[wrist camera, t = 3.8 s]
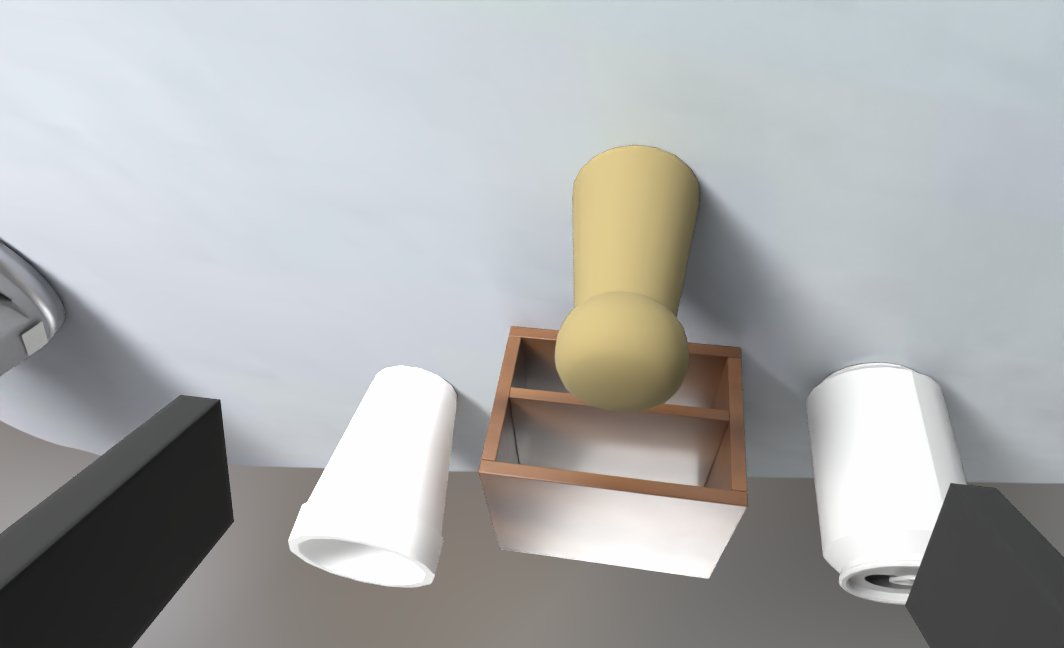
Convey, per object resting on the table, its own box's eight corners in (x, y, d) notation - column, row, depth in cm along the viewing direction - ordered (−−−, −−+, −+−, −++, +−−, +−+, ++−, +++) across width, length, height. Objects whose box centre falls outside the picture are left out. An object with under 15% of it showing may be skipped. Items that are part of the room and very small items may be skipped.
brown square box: (510, 325, 41) (477, 472, 34) (740, 347, 39) (748, 506, 33) (522, 420, 50) (498, 549, 44) (708, 442, 48) (709, 579, 42)
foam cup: (334, 352, 46) (260, 528, 39) (454, 353, 44) (401, 541, 36) (384, 419, 54) (330, 580, 46) (490, 423, 51) (452, 593, 43)
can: (782, 405, 43) (799, 592, 36) (845, 342, 37) (881, 552, 30) (890, 430, 43) (928, 621, 36) (970, 372, 37) (1035, 586, 30)
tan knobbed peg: (705, 144, 28) (707, 349, 21) (695, 244, 33) (694, 437, 26) (567, 145, 29) (528, 340, 23) (577, 242, 34) (547, 426, 27)
